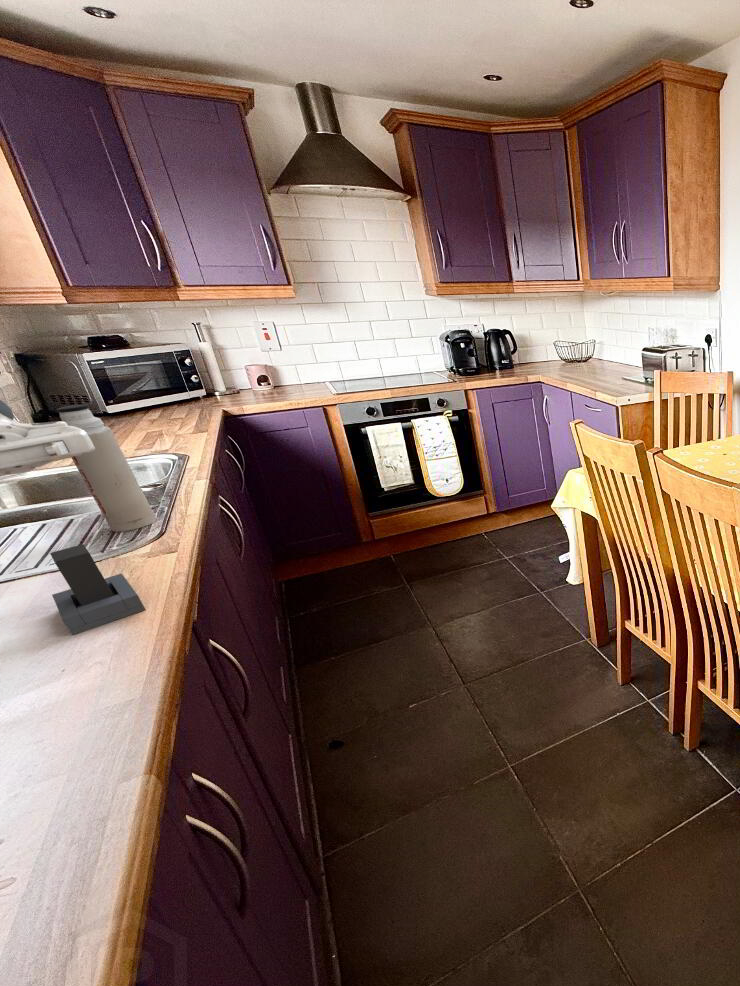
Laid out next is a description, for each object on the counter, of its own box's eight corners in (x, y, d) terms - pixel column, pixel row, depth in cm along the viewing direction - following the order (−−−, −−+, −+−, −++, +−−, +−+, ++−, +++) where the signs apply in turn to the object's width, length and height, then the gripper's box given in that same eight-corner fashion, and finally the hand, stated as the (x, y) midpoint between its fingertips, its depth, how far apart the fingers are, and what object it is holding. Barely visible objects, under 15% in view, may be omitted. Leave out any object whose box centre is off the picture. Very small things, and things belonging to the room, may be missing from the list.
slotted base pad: (61, 609, 101) (51, 594, 100) (129, 587, 107) (121, 573, 106) (72, 635, 93) (62, 619, 92) (146, 609, 99) (137, 594, 98)
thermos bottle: (110, 534, 132) (41, 412, 120) (113, 525, 137) (48, 406, 125) (156, 524, 136) (94, 405, 124) (157, 515, 142) (98, 400, 130)
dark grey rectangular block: (81, 604, 100) (49, 552, 96) (113, 594, 103) (83, 543, 98) (87, 615, 96) (54, 561, 92) (119, 604, 99) (88, 552, 95)
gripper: (-97, 446, 96) (-100, 459, 88) (75, 418, 110) (87, 427, 102) (-72, 482, 98) (-73, 498, 90) (93, 451, 113) (105, 461, 105)
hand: (13, 460), depth 96 cm, fingers open, 8 cm apart
